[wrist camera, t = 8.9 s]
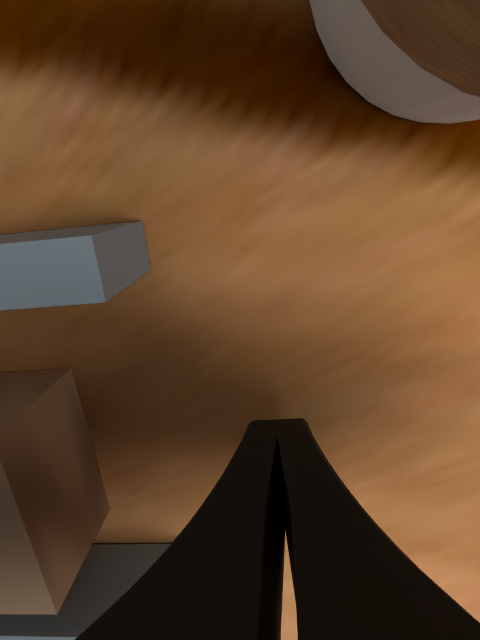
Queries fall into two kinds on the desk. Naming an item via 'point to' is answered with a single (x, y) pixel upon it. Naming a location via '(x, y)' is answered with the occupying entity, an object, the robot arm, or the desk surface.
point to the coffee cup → (407, 54)
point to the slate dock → (60, 290)
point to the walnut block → (44, 489)
